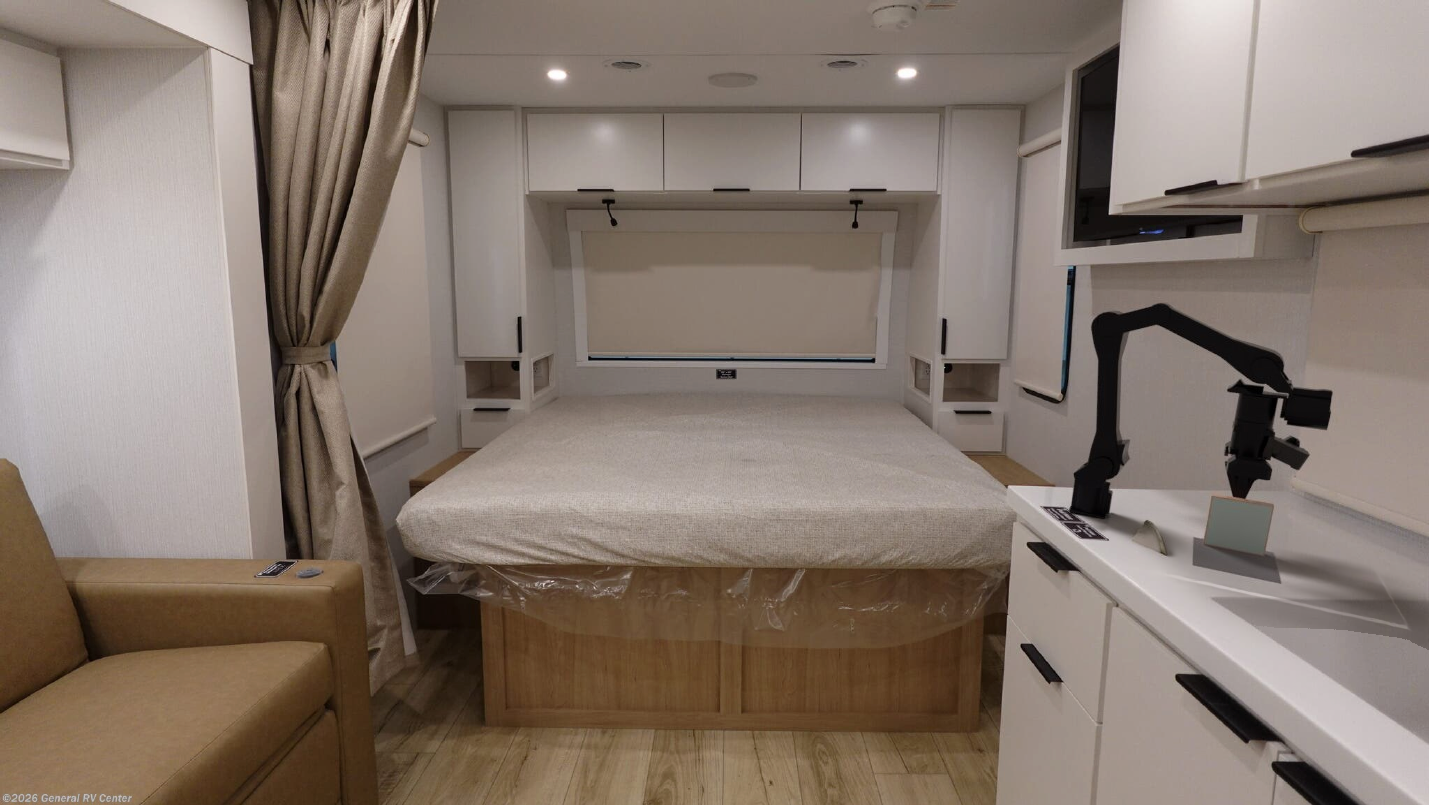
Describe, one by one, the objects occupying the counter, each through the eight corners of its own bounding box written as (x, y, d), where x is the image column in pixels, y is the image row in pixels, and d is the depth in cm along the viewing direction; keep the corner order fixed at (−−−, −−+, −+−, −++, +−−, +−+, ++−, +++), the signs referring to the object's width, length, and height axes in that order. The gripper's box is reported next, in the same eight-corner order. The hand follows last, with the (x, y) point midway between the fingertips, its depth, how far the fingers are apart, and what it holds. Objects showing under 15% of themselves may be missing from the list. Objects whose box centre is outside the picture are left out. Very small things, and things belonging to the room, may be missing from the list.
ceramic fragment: (1169, 561, 133) (1173, 539, 132) (1135, 556, 134) (1139, 535, 134) (1148, 534, 146) (1151, 515, 146) (1117, 530, 148) (1120, 511, 147)
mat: (1192, 567, 129) (1192, 564, 129) (1193, 539, 143) (1193, 537, 143) (1280, 586, 123) (1281, 583, 123) (1273, 555, 137) (1273, 552, 137)
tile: (1203, 544, 139) (1211, 495, 137) (1203, 541, 141) (1211, 493, 139) (1264, 556, 135) (1274, 506, 133) (1263, 553, 136) (1273, 503, 134)
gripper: (1317, 437, 126) (1298, 529, 129) (1304, 418, 142) (1288, 501, 145) (1235, 426, 132) (1219, 515, 135) (1231, 409, 147) (1217, 489, 150)
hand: (1238, 505), depth 141 cm, fingers closed
